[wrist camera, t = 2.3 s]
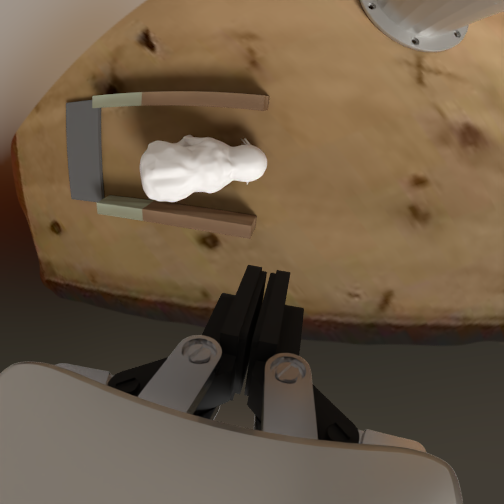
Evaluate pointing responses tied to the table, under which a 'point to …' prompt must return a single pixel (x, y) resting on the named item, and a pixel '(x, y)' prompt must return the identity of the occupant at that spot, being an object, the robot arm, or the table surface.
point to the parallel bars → (170, 211)
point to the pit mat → (84, 151)
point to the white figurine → (197, 167)
